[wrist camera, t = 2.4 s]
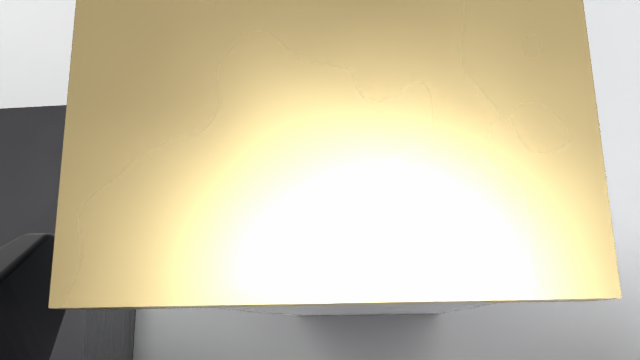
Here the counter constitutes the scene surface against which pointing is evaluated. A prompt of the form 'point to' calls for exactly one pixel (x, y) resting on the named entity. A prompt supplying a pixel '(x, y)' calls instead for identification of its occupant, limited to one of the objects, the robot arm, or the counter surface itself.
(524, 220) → the square bar
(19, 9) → the counter surface
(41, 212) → the rack rail
